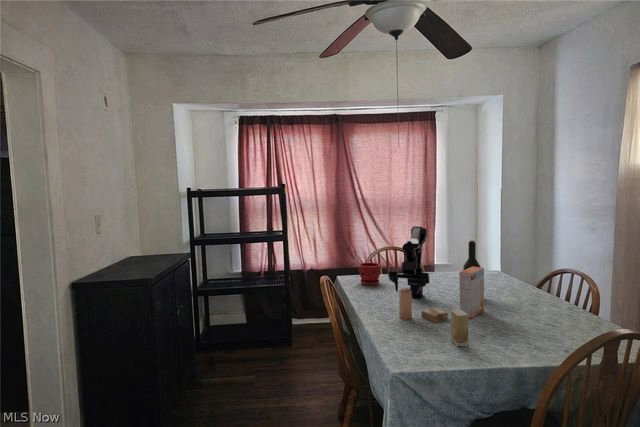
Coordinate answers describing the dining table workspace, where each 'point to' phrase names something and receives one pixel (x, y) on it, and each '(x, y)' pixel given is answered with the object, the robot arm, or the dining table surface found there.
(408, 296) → the tan lidded canister
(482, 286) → the cracker box
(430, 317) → the plinth
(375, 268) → the plant pot
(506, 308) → the dining table surface
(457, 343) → the skincare box
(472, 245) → the wine bottle
